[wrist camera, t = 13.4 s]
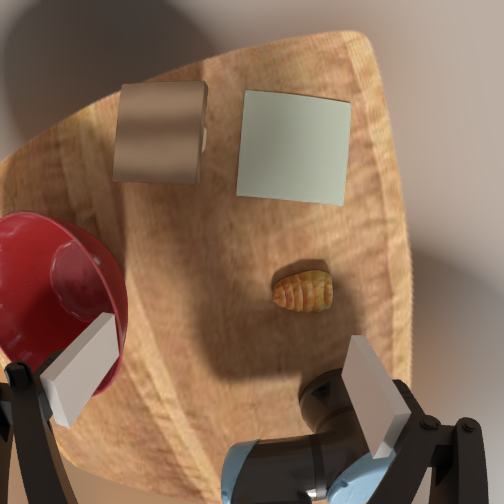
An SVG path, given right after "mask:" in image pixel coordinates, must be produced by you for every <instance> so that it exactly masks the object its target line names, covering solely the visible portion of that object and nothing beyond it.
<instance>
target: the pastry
mask: <svg viewBox="0 0 504 504" xmlns="http://www.w3.org/2000/svg"><path fill="white" fill-rule="evenodd" d="M332 287H333V286H332V277H331V275H330V274H329V273H327V272H323V271H320V270H309V271H306V272H302V273H298V274H295V275H292V276H289V277H286V278H283V279H281V280H280V281H279V282H277V283H276V284H275V285H274V287H273V301H274V302H275V303H276V304H277V305H278V306H281V307H284V308H286V309H288V310H294V311H296V312H299V311H301V312H303V313H307V312H311V311H313V312H315V313H319V312H321V311H322V310H324V309H325V310H327V309H329V308H330V307H331V305H332V299H333V290H332Z"/></svg>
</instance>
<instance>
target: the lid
mask: <svg viewBox="0 0 504 504" xmlns="http://www.w3.org/2000/svg"><path fill="white" fill-rule="evenodd" d="M207 95H208V86H207V84H206V82H205V81H167V82H147V83H132V84H122V89H121V96H120V103H119V111H118V119H117V128H116V138H115V150H114V164H113V182H140V183H169V184H190V185H197V184H200V171H201V158H202V146H203V135H204V124H205V114H206V105H207Z"/></svg>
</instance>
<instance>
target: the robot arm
mask: <svg viewBox="0 0 504 504" xmlns="http://www.w3.org/2000/svg"><path fill="white" fill-rule="evenodd" d="M118 356H119V350H118V342H117V334H116V325H115V315H114V314H110V313H104V312H103V313H102V314H100V315H99V316H98V317H97V318H96V319H95V320H94V321H93V322H92V323H91V324H90V325H89V326H88V327H87V328H86V329H85V330H84V331H83V332H82V333H81V334H80V335H79V336H78V337H77V338H76V339H75V340H74V341H73V342H72V343H71V344H70V345H69V346H68V347H67V348H66V349H65V350H63V349H59V350H57V351H55V352H53V353H52V354H51V355H50V356H49V357H48V358H47V359H46V360H45V361H44V362H43V364H41V365H40V366H39V367H38V368H37V369H36V370H35V371H34V372H33V373H32V371H31V368H30V365H29V364H28V363H27V362H24V361H15V362H11V363H10V364H8V365H7V366H6V367H5V370H4V372H5V374H6V378H7V380H8V383H1V382H0V504H7V501H8V500H7V499H8V480H9V468H10V458H11V449H12V442H13V434H14V436H15V443H16V449H17V454H18V460H19V465H20V470H21V475H22V479H23V483H24V488H25V492H26V495H27V499H28V502H29V504H78V502H77V500H76V498H75V495H74V492H73V490H72V487H71V485H70V482H69V480H68V477H67V474H66V471H65V469H64V466H63V463H62V460H61V457H60V454H59V450H58V447H57V444H56V440H55V437H54V433H53V430H52V426H51V423H50V421H49V419H50V418H51V416H52V415H53V416H54V419H55V421H56V423H57V424H59V425H62V426H65V427H68V428H71V426H72V424H73V423H74V421H75V420H76V418H77V417H78V415H79V414H80V412H81V411H82V409H83V408H84V406H85V405H86V403H87V402H88V400H89V399H90V397H91V396H92V394H93V393H94V391H95V390H96V388H97V387H98V385H99V384H100V382H101V381H102V380H103V378H104V377H105V375H106V374H107V372H108V371H109V369H110V368H111V367H112V365H113V364H114V362H115V361H116V359H117V358H118ZM300 409H301V414H302V417H303V419H304V421H305V422H306V424H307V425H308V426H309V428H310V429H311V430H312V432H313V433H314V434H311V435H303V436H296V437H288V438H279V439H267V440H261V439H257V440H255V441H248V442H239V443H236V444H234V445H233V446H232V447H231V448H230V449H229V451H228V452H227V454H226V457H225V460H224V464H223V468H222V475H221V489H222V492H221V498H222V502H223V504H312V501H317V500H323V499H327V501H328V503H329V504H363V503H365V502H367V503H366V504H411V503H412V501H413V499H414V496H415V494H416V493H417V490H418V488H419V486H420V484H421V481H422V479H423V477H424V474H425V472H426V470H427V467H432V476H431V486H430V496H429V504H489V499H488V481H487V469H486V459H485V451H484V443H483V437H482V430H481V426H480V424H479V423H478V422H477V421H476V420H474V419H472V418H468V417H463V418H461V419H459V420H458V421H457V423H456V425H455V426H450V425H441V423H440V421H439V420H438V419H436V418H435V417H433V416H430V415H425V413H424V412H423V410H422V408H421V407H420V405H419V404H418V402H417V401H416V399H415V398H414V396H413V394H412V393H411V391H410V389H409V388H408V386H407V385H406V384H405V383H403V382H402V381H401V380H400V379H397V380H392V379H391V378H390V376H389V374H388V373H387V371H386V369H385V368H384V366H383V364H382V363H381V361H380V360H379V358H378V356H377V355H376V353H375V352H374V350H373V348H372V347H371V345H370V344H369V342H368V340H367V339H366V337H365V336H364V335H352V336H351V340H350V344H349V348H348V352H347V356H346V360H345V364H344V367H343V368H342V369H336V370H332V371H329V372H327V373H325V374H323V375H321V376H319V377H317V378H316V379H315V380H313V381H312V382H311V383H310V384H309V385H308V386H307V387H306V388H305V390H304V392H303V393H302V396H301V399H300Z"/></svg>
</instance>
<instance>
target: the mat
mask: <svg viewBox="0 0 504 504" xmlns="http://www.w3.org/2000/svg"><path fill="white" fill-rule="evenodd" d="M350 118H351V103H346V102H340V101H334V100H328V99H322V98H316V97H309V96H301V95H293V94H284V93H274V92H263V91H250V90H245V98H244V108H243V119H242V131H241V142H240V154H239V166H238V178H237V191H236V196H248V197H260V198H272V199H282V200H293V201H303V202H312V203H321V204H330V205H339V206H343V202H344V193H345V183H346V173H347V161H348V149H349V135H350Z"/></svg>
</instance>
